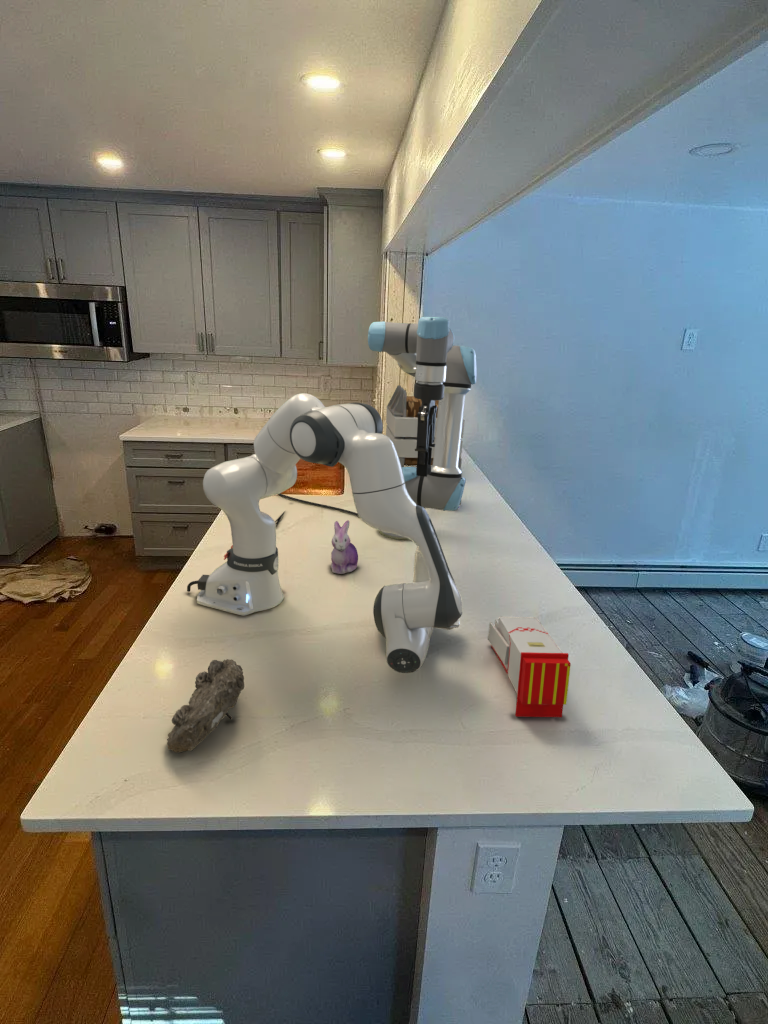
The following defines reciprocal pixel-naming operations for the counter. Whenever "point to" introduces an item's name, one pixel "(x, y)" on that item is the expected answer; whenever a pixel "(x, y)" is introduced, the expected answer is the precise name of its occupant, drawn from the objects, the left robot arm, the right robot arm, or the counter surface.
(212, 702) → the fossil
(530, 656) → the toy
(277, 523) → the feather
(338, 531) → the figurine
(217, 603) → the left robot arm
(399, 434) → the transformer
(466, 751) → the counter surface
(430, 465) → the cap
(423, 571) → the bottle
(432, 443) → the right robot arm
